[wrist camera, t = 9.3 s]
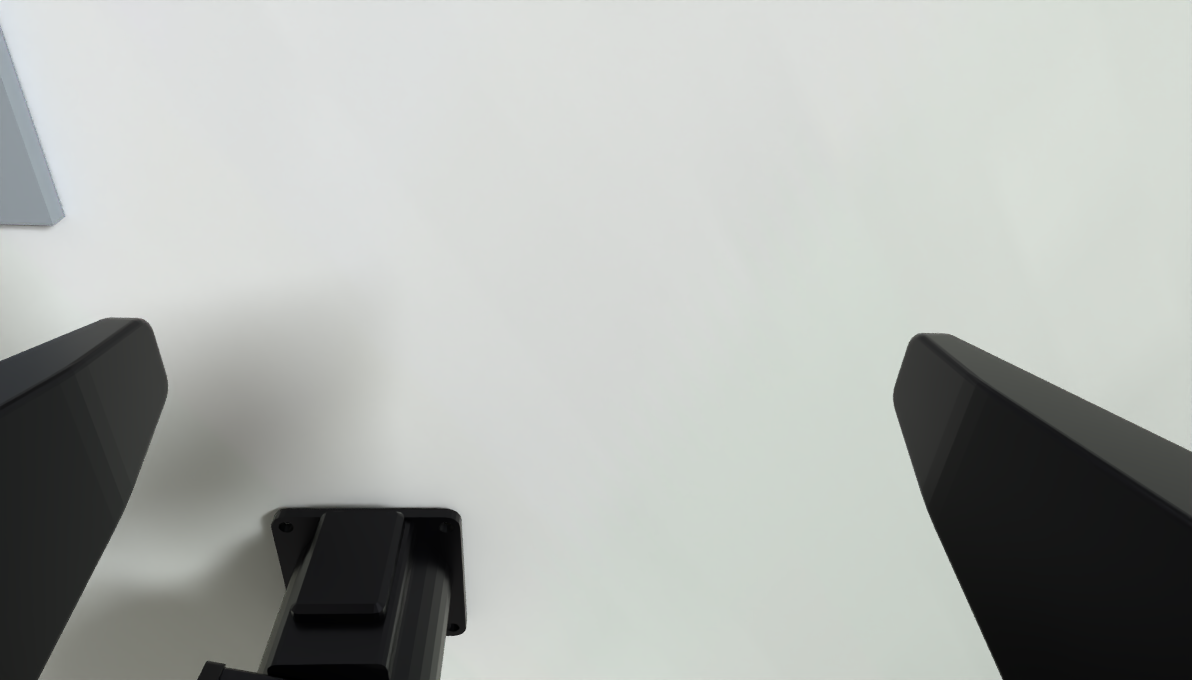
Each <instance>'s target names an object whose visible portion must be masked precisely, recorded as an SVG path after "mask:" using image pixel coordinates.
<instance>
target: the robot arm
mask: <svg viewBox="0 0 1192 680" xmlns="http://www.w3.org/2000/svg"><path fill="white" fill-rule="evenodd" d="M167 393H168V380H167V375H166V372H165V368H164V365H163V362H162V358H161V355H160V352H159V348H158V345H157V342H156V338H155V335H154V332H153V330H152V327H151V326H150V324H149V323H148V322H146V321H145V320H143V319H140V318H105V319H102V320H99V321H97V322H94V323H92V324H89V325H87V326H85V327H82V328H80V329H77V330H75V331H72V332H70V333H68V334H65V335H63V336H60V337H58V338H55V339H53V340H51V341H48V342H46V343H43V344H41V345H38V346H36V347H34V348H31V349H29V350H26V351H24V352H21V353H19V354H17V355H14V356H12V357H9V358H7V359H4V360H2V361H0V680H38V678H39V676H40V674H41V673H42V671H43V669H44V667H45V665H46V663H47V661H48V659H49V657H50V655H51V653H52V651H53V649H54V647H55V645H56V643H57V641H58V639H59V637H60V636H61V634H62V632H63V630H64V628H65V626H66V624H67V622H68V620H69V618H70V616H71V614H72V612H73V610H74V608H75V606H76V604H77V602H78V600H79V598H80V597H81V595H82V593H83V591H84V589H85V587H86V585H87V583H88V581H89V579H90V577H91V575H92V573H93V571H94V569H95V567H96V565H97V563H98V561H99V560H100V558H101V556H102V554H103V552H104V550H105V548H106V546H107V544H108V542H109V540H110V538H111V536H112V534H113V532H114V530H115V528H116V526H117V524H118V522H119V520H120V518H121V516H122V514H123V512H124V510H125V508H126V505H127V503H128V500H129V498H130V495H131V493H132V491H133V488H134V485H135V483H136V480H137V477H138V474H139V472H140V469H141V466H142V464H143V461H144V458H145V455H146V453H147V450H148V447H149V445H150V442H151V439H152V436H153V434H154V431H155V428H156V426H157V423H158V420H159V417H160V415H161V412H162V409H163V407H164V404H165V401H166V398H167ZM893 402H894V408H895V411H896V415H897V418H898V421H899V424H900V427H901V430H902V434H903V437H904V440H905V443H906V446H907V450H908V453H909V456H910V459H911V462H912V465H913V469H914V472H915V475H916V478H917V481H918V485H919V488H920V491H921V494H922V497H923V500H924V502H925V505H926V508H927V511H928V513H929V515H930V518H931V520H932V523H933V525H934V527H935V530H936V532H937V534H938V536H939V539H940V541H941V543H942V545H943V547H944V550H945V552H946V554H947V556H948V559H949V561H950V563H951V565H952V568H953V570H954V572H955V574H956V576H957V579H958V581H959V583H960V585H961V588H962V590H963V592H964V594H965V597H966V599H967V601H968V603H969V606H970V608H971V610H972V612H973V614H974V617H975V619H976V621H977V623H978V626H979V628H980V630H981V632H982V635H983V637H984V639H985V641H986V643H987V646H988V648H989V650H990V652H991V655H992V657H993V659H994V661H995V664H996V666H997V668H998V670H999V672H1000V675H1001V677H1002V679H1003V680H1192V452H1191V451H1189V450H1187V449H1185V448H1183V447H1181V446H1179V445H1177V444H1175V443H1173V442H1170V441H1168V440H1166V439H1164V438H1162V437H1160V436H1158V435H1156V434H1154V433H1152V432H1150V431H1148V430H1146V429H1144V428H1142V427H1140V426H1138V425H1136V424H1134V423H1131V422H1129V421H1127V420H1125V419H1123V418H1121V417H1119V416H1117V415H1115V414H1113V413H1111V412H1109V411H1107V410H1105V409H1103V408H1101V407H1099V406H1097V405H1095V404H1092V403H1090V402H1088V401H1086V400H1084V399H1082V398H1080V397H1078V396H1076V395H1074V394H1072V393H1070V392H1068V391H1066V390H1064V389H1062V388H1060V387H1058V386H1056V385H1053V384H1051V383H1049V382H1047V381H1045V380H1043V379H1041V378H1039V377H1037V376H1035V375H1033V374H1031V373H1029V372H1027V371H1025V370H1023V369H1021V368H1019V367H1017V366H1014V365H1012V364H1010V363H1008V362H1006V361H1004V360H1002V359H1000V358H998V357H996V356H994V355H992V354H990V353H988V352H986V351H984V350H982V349H980V348H978V347H975V346H973V345H971V344H969V343H967V342H965V341H963V340H961V339H959V338H957V337H955V336H953V335H950V334H945V333H919V334H917V335H915V336H914V337H912V339H911V340H910V342H909V344H908V346H907V350H906V353H905V356H904V359H903V362H902V365H901V368H900V371H899V374H898V377H897V380H896V384H895V387H894V393H893ZM285 522H287V523H290V524H286V523H285ZM444 522H447V523H450V524H444ZM271 528H272V532H273V536H274V541H275V545H276V549H277V553H278V557H279V561H280V565H281V570H282V574H283V578H284V582H285V586H286V593H285V595H284V598H283V601H282V604H281V607H280V610H279V612H278V615H277V618H276V621H275V624H274V627H273V629H272V632H271V635H270V638H269V641H268V644H267V646H266V649H265V652H264V655H263V658H262V661H261V663H260V666H259V669H258V672H257V673H255V672H249V671H243V670H238V669H232V668H226V667H225V666H226V664H222V663H217V662H211V661H206V663H205V665H204V667H203V669H202V671H201V673H200V675H199V677H198V680H440V677H441V669H442V661H443V654H444V646H445V638H446V636H455V635H460V634H462V633H463V632H464V631H465V630H466V623H467V611H466V592H465V574H464V556H463V538H462V520H461V516H460V515H459V514H458V513H457V512H456V511H454V510H450V509H282V510H280V511H278V512H277V513H276V514H275V516H274V519H273V521H272V524H271Z"/></svg>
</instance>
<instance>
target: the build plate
mask: <svg viewBox="0 0 1192 680" xmlns="http://www.w3.org/2000/svg"><path fill="white" fill-rule="evenodd" d="M64 217H65V214H64V211H63V209H62V206H61V203H60V200H59V197H58V194H57V191H56V188H55V185H54V182H53V179H52V176H51V173H50V170H49V167H48V164H47V161H46V158H45V156H44V153H43V150H42V147H41V144H40V141H39V138H38V135H37V132H36V129H35V126H34V123H33V120H32V117H31V114H30V111H29V108H28V105H27V103H26V100H25V97H24V94H23V91H22V88H21V85H20V82H19V79H18V76H17V73H16V70H15V67H14V64H13V61H12V58H11V55H10V52H9V49H8V47H7V44H6V41H5V38H4V35H3V32H2V29H1V26H0V224H15V225H51V226H53V225H55V224H56V223H57V222H59V221H60V220H61V219H62V218H64Z"/></svg>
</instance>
